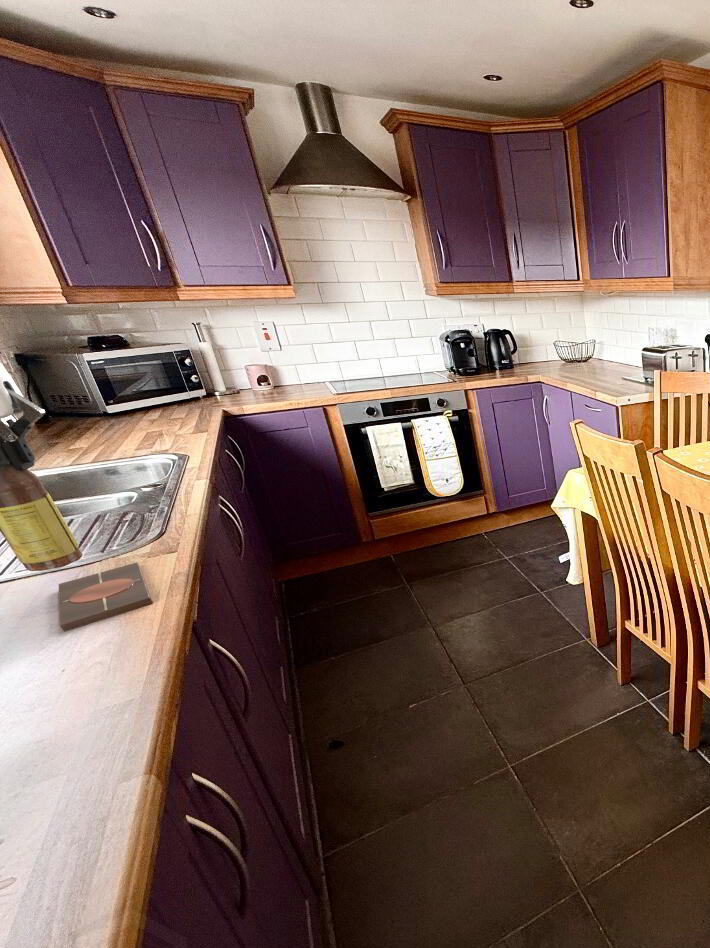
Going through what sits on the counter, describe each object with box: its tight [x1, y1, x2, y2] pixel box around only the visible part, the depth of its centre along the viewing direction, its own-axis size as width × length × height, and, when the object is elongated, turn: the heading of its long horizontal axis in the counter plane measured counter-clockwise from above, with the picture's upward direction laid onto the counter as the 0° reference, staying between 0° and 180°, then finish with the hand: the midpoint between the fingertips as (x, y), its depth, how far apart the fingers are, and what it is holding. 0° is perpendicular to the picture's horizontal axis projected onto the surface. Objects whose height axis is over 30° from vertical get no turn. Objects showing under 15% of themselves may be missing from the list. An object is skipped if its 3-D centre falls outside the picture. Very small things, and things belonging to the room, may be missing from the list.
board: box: [58, 562, 153, 632], centre depth 104 cm, size 22×11×1 cm, turn 47°
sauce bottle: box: [0, 434, 83, 572], centre depth 83 cm, size 7×6×20 cm
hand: (1, 469), depth 81 cm, fingers closed on sauce bottle, 4 cm apart
